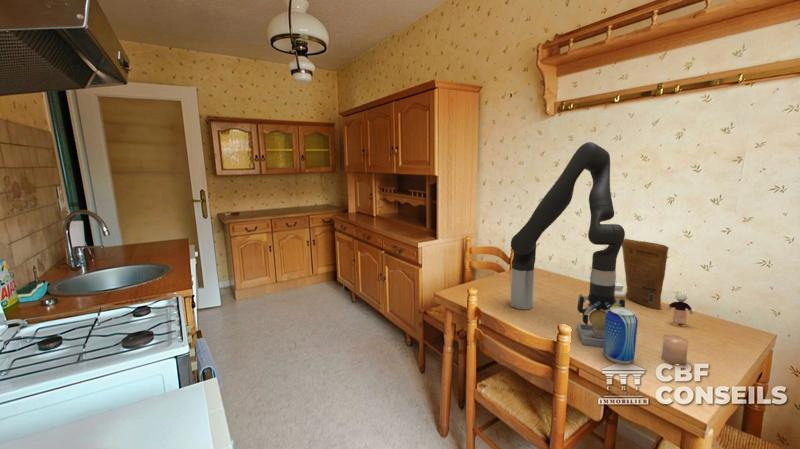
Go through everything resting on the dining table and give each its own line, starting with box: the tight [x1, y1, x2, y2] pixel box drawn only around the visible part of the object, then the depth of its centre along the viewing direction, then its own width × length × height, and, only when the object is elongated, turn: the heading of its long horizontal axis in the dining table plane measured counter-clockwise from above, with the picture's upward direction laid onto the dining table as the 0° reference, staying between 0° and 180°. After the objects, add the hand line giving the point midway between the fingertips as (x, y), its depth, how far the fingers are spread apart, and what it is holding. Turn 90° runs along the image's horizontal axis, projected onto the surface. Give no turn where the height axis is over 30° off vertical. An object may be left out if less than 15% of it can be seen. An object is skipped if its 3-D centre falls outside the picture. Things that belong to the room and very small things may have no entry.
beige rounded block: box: [661, 334, 689, 366], centre depth 107 cm, size 6×6×7 cm
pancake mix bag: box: [621, 238, 670, 310], centre depth 149 cm, size 7×19×28 cm, turn 16°
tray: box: [576, 322, 604, 348], centre depth 122 cm, size 12×12×2 cm
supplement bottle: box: [604, 282, 626, 313], centre depth 140 cm, size 7×7×13 cm
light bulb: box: [588, 309, 607, 339], centre depth 121 cm, size 6×6×10 cm
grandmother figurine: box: [666, 292, 694, 328], centre depth 130 cm, size 8×4×13 cm, turn 71°
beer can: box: [602, 307, 639, 365], centre depth 109 cm, size 8×8×16 cm
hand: (599, 325), depth 121 cm, fingers open, 8 cm apart
